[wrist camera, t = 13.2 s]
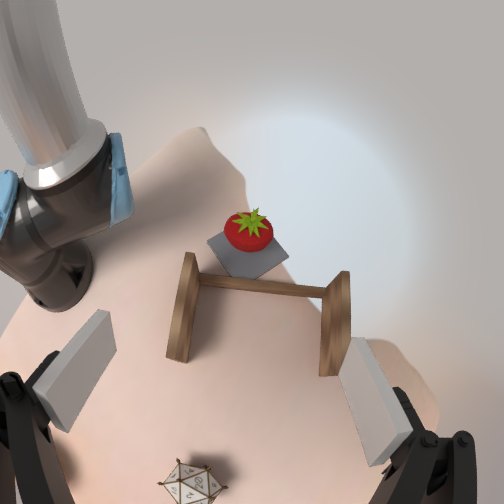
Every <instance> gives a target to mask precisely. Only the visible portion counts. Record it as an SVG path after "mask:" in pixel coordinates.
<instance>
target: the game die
mask: <svg viewBox="0 0 504 504" xmlns="http://www.w3.org/2000/svg"><path fill="white" fill-rule="evenodd" d="M176 461H177V462H178V465H177V466H176V468H175V469H174V470H173V472H172V473H171V474H170V475H169V477H168V478H167V479H166V480H165V482H164V483H161V482H158V483H157V484H159V485H164V487H165V488H166V489H167V491H168V492H169V493H170V494H171V496H172V497H173V498H174V499H175V501H176V502H177V504H212V503H213V501H214V500H215V498H216V497H217V496H218V494H219V493H220V492H221V490H222V489H227V488H229V487H227V486H222V485H221V484H220V483H219V482H218V481H217V480H216V479H215V477H214V476H213V475H212V474H211V473H210V471H209V470H210V469H211V466H209V467H208V468H207V465H205V466H204V467H203V468H200V467H196V466H191V465H187V464H183V463H180V460H179V459H176ZM206 468H207V469H206Z"/></svg>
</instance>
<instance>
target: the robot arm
mask: <svg viewBox="0 0 504 504" xmlns="http://www.w3.org/2000/svg"><path fill="white" fill-rule="evenodd" d="M0 113H1V115H2V118H3V119H4V122H5V123H6V125H7V127H8V129H9V131H10V133H11V135H12V137H13V138H14V140H15V142H16V144H17V146H18V148H19V149H20V151H21V153H22V155H23V156H24V158H25V159H26V164H25V168H24V173H23V177H22V178H18V175H17V173H14V172H13V171H9V170H5V171H3V172H1V173H0V270H1V271H3V272H4V273H6V274H7V275H9V276H10V277H12V278H13V279H15V280H16V281H18V282H19V283H21V284H22V285H23V286H24V288H25V289H26V290H27V292H28V294H29V295H30V296H31V298H32V299H33V301H34V302H35V303H36V304H37V305H39V306H40V307H42V308H44V309H46V310H48V311H50V312H62V311H65V310H68V309H70V308H71V307H73V306H74V305H75V304H76V303H77V302H78V301H79V300H80V299H81V298H82V296H83V295H84V293H85V292H86V290H87V288H88V285H89V283H90V280H91V276H92V267H93V266H92V257H91V254H90V251H89V249H88V248H87V246H86V245H85V244H84V243H83V242H82V240H81V239H84V238H86V237H88V236H91V235H93V234H96V233H98V232H101V231H103V230H106V229H108V228H109V229H110V228H112V227H113V226H114V225H116V224H118V223H120V222H122V221H124V220H126V219H128V218H129V217H130V216H131V215H132V214H133V211H134V201H133V196H132V191H131V186H130V181H129V176H128V171H127V166H126V162H125V155H124V149H123V143H122V137H121V134H120V133H110V134H109V135H108V134H107V132H106V129H105V126H104V125H103V123H102V122H100V121H98V120H95V119H90V118H88V117H87V114H86V112H85V109H84V106H83V103H82V100H81V97H80V94H79V91H78V88H77V85H76V82H75V78H74V75H73V72H72V68H71V65H70V61H69V58H68V54H67V50H66V46H65V42H64V38H63V34H62V29H61V25H60V20H59V15H58V10H57V4H56V0H0ZM116 351H117V349H116V344H115V339H114V334H113V329H112V323H111V317H110V312H109V311H104V310H99V309H98V310H97V311H96V312H95V313H94V314H93V316H92V317H91V318H90V319H89V320H88V321H87V322H86V323H85V324H84V326H83V327H82V328H81V329H80V330H79V331H78V332H77V333H76V335H75V336H74V337H73V338H72V339H71V340H70V341H69V343H68V344H67V345H66V346H65V347H64V348H63V350H62V351H61V352H59V351H57V350H56V351H54V352H52V353H51V354H49V355H48V356H47V357H46V358H45V359H44V360H43V363H41V364H40V365H39V366H38V368H37V369H36V370H35V371H34V372H33V374H32V375H31V376H30V377H29V378H28V380H27V381H26V382H25V383H23V381H22V379H21V377H20V375H19V374H18V373H16V372H6V373H4V374H3V375H1V376H0V504H16V492H15V477H16V482H17V486H18V489H19V493H20V496H21V499H22V503H23V504H75V502H74V500H73V498H72V495H71V493H70V490H69V488H68V485H67V483H66V480H65V477H64V474H63V472H62V469H61V466H60V463H59V460H58V456H57V453H56V450H55V446H54V442H53V439H52V435H51V431H50V428H49V425H48V424H49V422H50V420H51V421H52V423H53V424H54V426H55V427H56V428H58V429H60V430H62V431H64V432H66V433H69V431H70V429H71V427H72V425H73V424H74V422H75V420H76V418H77V416H78V415H79V413H80V411H81V409H82V408H83V406H84V404H85V402H86V401H87V399H88V397H89V395H90V394H91V392H92V390H93V389H94V387H95V385H96V384H97V382H98V380H99V379H100V377H101V375H102V374H103V372H104V370H105V369H106V367H107V366H108V364H109V362H110V361H111V359H112V358H113V356H114V354H115V353H116ZM338 375H339V378H340V381H341V384H342V387H343V389H344V392H345V395H346V398H347V401H348V404H349V407H350V410H351V413H352V415H353V418H354V421H355V424H356V427H357V430H358V434H359V437H360V440H361V443H362V446H363V449H364V452H365V455H366V459H367V462H368V465H369V467H371V466H376V465H381V464H384V463H385V462H386V461H387V460H388V459H389V458H390V459H391V462H392V463H391V464H390V465H389V466H388V467H387V468H386V469H385V470H384V471H383V472H382V474H384V473H385V472H386V473H385V475H384V477H383V479H382V481H381V483H380V484H379V486H378V488H377V490H376V492H375V493H374V495H373V497H372V499H371V500H370V502H369V504H477V468H476V455H475V443H474V439H473V437H472V435H471V434H470V433H468V432H466V431H458V432H457V433H456V434H455V435H454V436H453V437H452V438H439V437H438V436H437V435H436V434H435V433H434V432H432V431H428V430H425V428H424V426H423V425H422V423H421V421H420V419H419V417H418V415H417V413H416V411H415V409H414V408H413V406H412V404H411V402H410V400H409V398H408V397H407V395H406V393H405V392H404V391H403V390H402V389H400V388H399V387H393V388H392V387H391V385H390V383H389V381H388V379H387V378H386V376H385V374H384V372H383V370H382V368H381V367H380V365H379V363H378V361H377V359H376V357H375V356H374V354H373V352H372V350H371V349H370V347H369V345H368V343H367V341H366V340H365V338H352V339H351V342H350V345H349V348H348V350H347V353H346V356H345V358H344V361H343V364H342V366H341V369H340V371H339V374H338Z"/></svg>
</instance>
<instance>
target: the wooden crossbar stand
mask: <svg viewBox="0 0 504 504" xmlns="http://www.w3.org/2000/svg"><path fill="white" fill-rule="evenodd" d="M200 285H207V286H214V287H222V288H230V289H238V290H246V291H254V292H263V293H272V294H281V295H291V296H301V297H311V298H322V322H321V348H320V366H319V376H336V375H338V374H339V371H340V369H341V366H342V364H343V361H344V358H345V356H346V353H347V350H348V348H349V345H350V342H351V302H350V301H351V299H350V273H349V271H341V272H340V273H339V274H338V275H337V276H336V277H335V278H334V280H333V281H332V282H331V283H330V284H329V285H328V286H327V287H326V288H323V287H314V286H305V285H295V284H286V283H277V282H268V281H260V280H251V279H243V278H235V277H227V276H219V275H211V274H204V273H200V272H199V268H198V265H197V261H196V257H195V253H191V252H186V253H185V257H184V262H183V266H182V271H181V276H180V281H179V285H178V290H177V295H176V301H175V306H174V311H173V316H172V322H171V328H170V333H169V339H168V345H167V352H166V358H169V359H172V360H174V361H177V362H181V363H187V360H188V353H189V347H190V340H191V333H192V327H193V321H194V315H195V309H196V303H197V297H198V291H199V286H200Z"/></svg>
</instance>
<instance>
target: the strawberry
mask: <svg viewBox="0 0 504 504" xmlns="http://www.w3.org/2000/svg"><path fill="white" fill-rule="evenodd" d="M258 209H259V208H257V209H256V210H255V211H254V210H253V212H252V213H248V212H244V213H239V212H237V213H238V214H235V215H233V216H231V217H230V218H229V219H228V220H227V222H226V224H225V227H224V234H225V236H226V238H227V239H228V241H229V243H230V244H231V245H232V246H233V247H235V248H236V249H238V250H241V251H243V252H258V251H261V250H263V249H264V248H265V247H267V246H268V245H269V244H270V242H271V241H272V239H273V228H272V226H271V223H270V222H269V221H268V220H267V219H266V218H265V217H266V216H260V215H258V214H257V213H258Z"/></svg>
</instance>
